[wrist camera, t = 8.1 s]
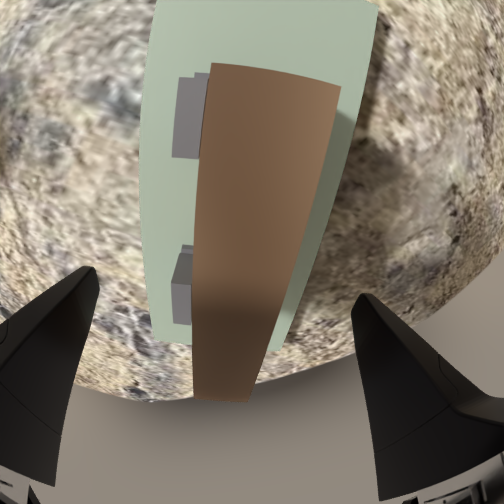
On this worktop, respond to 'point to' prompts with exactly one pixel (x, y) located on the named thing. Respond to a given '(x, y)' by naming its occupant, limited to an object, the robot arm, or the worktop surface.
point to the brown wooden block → (251, 215)
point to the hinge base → (192, 114)
